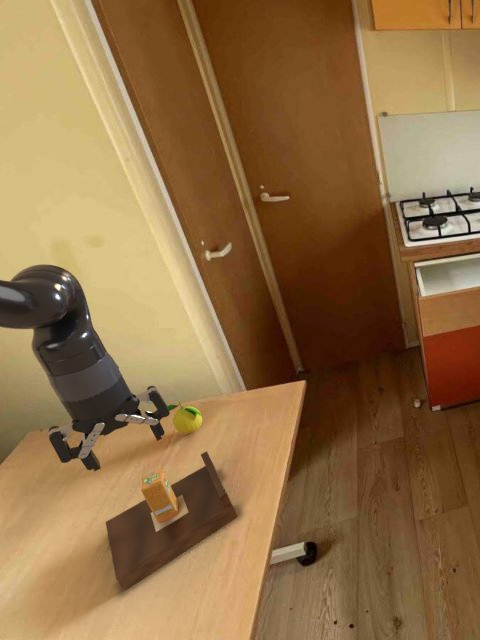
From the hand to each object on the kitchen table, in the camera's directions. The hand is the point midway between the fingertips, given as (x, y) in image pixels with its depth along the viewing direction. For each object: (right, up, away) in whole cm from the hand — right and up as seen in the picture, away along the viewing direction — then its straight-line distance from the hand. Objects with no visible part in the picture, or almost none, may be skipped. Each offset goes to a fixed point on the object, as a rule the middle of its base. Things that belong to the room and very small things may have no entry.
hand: (129, 451), depth 75 cm
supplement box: (+1, -16, +8) cm, 18 cm away
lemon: (-12, -9, +30) cm, 34 cm away
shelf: (+1, -19, +10) cm, 22 cm away
